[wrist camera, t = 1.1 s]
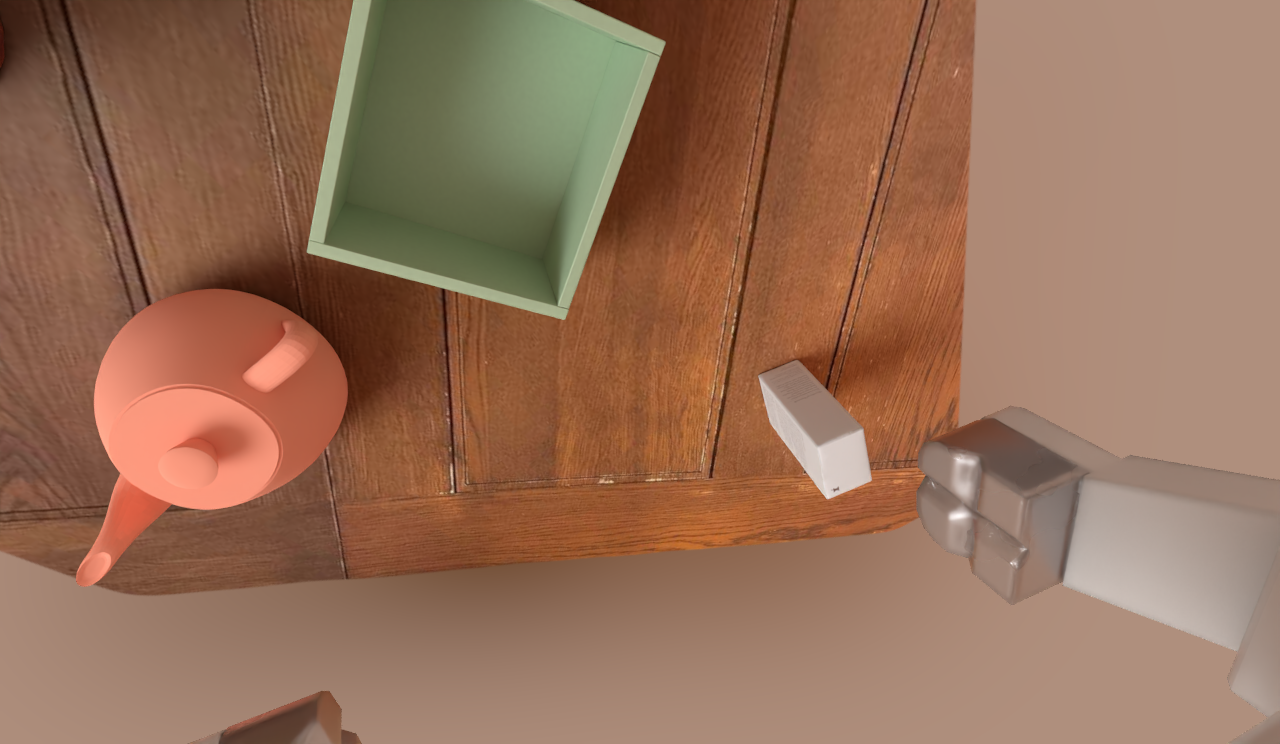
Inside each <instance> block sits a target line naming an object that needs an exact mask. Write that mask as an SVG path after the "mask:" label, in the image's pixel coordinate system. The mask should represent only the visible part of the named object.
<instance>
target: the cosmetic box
mask: <svg viewBox="0 0 1280 744" xmlns="http://www.w3.org/2000/svg"><path fill="white" fill-rule="evenodd" d="M758 377H759V380H760V385H761V389H762V393H763V397H764V401H765V405H766V409H767V412H768V417H769V421H770V424H771V425H772V426H773V428H774V429H775V430H776V432H777V433H778V434H779V436H780V437H781V438H782V440H783V441H784V442H785V444H786V445H787V446H788V448H789V449H790V450H791V452H792V453H793V454H794V456H795V457H796V458H797V460H798V461H799V462H800V464H801V465H802V467H803V468H804V469H805V471H806V472H807V473H808V475H809V476H810V477H811V479H812V480H813V481H814V483H815V484H816V486H817V487H818V488H819V490H820V491H821V492H822V493H823V495H824V496H825V497H826V498H827V499H830V498H832V497H835V496H837V495H839V494H842V493H844V492H847V491H849V490H852V489H854V488H856V487H859V486H861V485H863V484H866V483H868V482H870V481H871V480H872V478H871V471H870V465H869V459H868V454H867V448H866V442H865V436H864V429H863V427H862V426H861V425H860V424H859V423H858V422H857V421H856V420H855V419H854V418H853V417H852V416H851V415H850V414H849V413H848V412H847V411H846V409H845V408H844V407H843V406H842V405H841V404H840V403H839V402H838V401H837V400H836V399H835V398H834V397H833V396H832V395H831V394H830V393H829V391H828V390H827V389H826V388H825V387H824V386H823V385H822V384H821V383H820V382H819V381H818V380H817V379H816V378H815V377H814V376H813V375H812V374H811V373H810V372H809V370H808V369H807V368H806V367H805V366H804V365H803V364H802V363H801V362H800V361H799V360H794V361H792V362H790V363H787V364H785V365H782V366H780V367H777V368H775V369H772V370H770V371H767V372H765V373H762V374H760V375H759V376H758Z"/></svg>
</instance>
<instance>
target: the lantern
mask: <svg viewBox="0 0 1280 744" xmlns="http://www.w3.org/2000/svg"><path fill="white" fill-rule="evenodd" d="M4 58H5V56H4V29H3V26H2V23H1V21H0V70H1V67H2V64H3V61H4Z"/></svg>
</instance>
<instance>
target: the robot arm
mask: <svg viewBox="0 0 1280 744" xmlns="http://www.w3.org/2000/svg"><path fill="white" fill-rule="evenodd" d="M918 468H919V469H920V470H921V471H922V472H923V473H924V474H925V475H926V476H925V478H924V479H923V481H922V483H921V485H920V486H919V488H918V490H917V512H918V514H919V517H920V519H921V521H922V524H923V526H924V528H925V529H926V531H927V532H928V533H929V535H930V536H931V537H932V538H933V540H934V541H935V542H936V543H937V544H939V545H940V546H941V547H942V548H943V549H944V550H946V551H947V552H949V553H953V554H956V555H960V556H963V557H966V558H969V562H970V566H971V570H972V573H973V574H974V575H975V576H977V577H978V578H979V579H980V580H982V581H983V582H984V583H985V584H987V585H988V586H989V587H990V588H991V589H992V590H994V591H995V592H996V593H997V594H999V595H1000V596H1001V597H1002V598H1003V599H1005V600H1006V601H1007V602H1008V603H1009V604H1011V605H1014V604H1016V603H1018V602H1020V601H1022V600H1024V599H1027V598H1029V597H1031V596H1033V595H1035V594H1037V593H1039V592H1042V591H1044V590H1046V589H1048V588H1050V587H1052V586H1054V585H1057V584H1059V583H1061V582H1063V586H1066V587H1068V588H1071V589H1074V590H1076V591H1079V592H1082V593H1084V594H1087V595H1090V596H1092V597H1095V598H1098V599H1100V600H1103V601H1106V602H1108V603H1111V604H1113V605H1116V606H1119V607H1121V608H1124V609H1127V610H1129V611H1132V612H1135V613H1137V614H1140V615H1142V616H1145V617H1148V618H1150V619H1153V620H1156V621H1158V622H1161V623H1163V624H1166V625H1169V626H1171V627H1174V628H1177V629H1179V630H1182V631H1185V632H1188V633H1190V634H1193V635H1195V636H1198V637H1201V638H1203V639H1206V640H1208V641H1211V642H1214V643H1216V644H1219V645H1222V646H1224V647H1227V648H1229V649H1232V650H1235V651H1237V655H1236V657H1235V660H1234V663H1233V665H1232V668H1231V670H1230V673H1229V675H1228V682H1229V686H1230V690H1231V691H1232V692H1234V693H1235V694H1237V695H1238V696H1239V697H1241V698H1242V699H1243V700H1245V701H1246V702H1247V703H1249V704H1250V705H1252V706H1253V707H1254V708H1256V709H1257V710H1258V711H1260V712H1261V713H1262V714H1264V715H1265V716H1267V717H1268V718H1266V719H1265V720H1263V721H1262V722H1260V723H1259V724H1257V725H1255V726H1254V727H1252V728H1251V729H1249V730H1248V731H1246V732H1244V733H1243V734H1241V735H1240V736H1238V737H1237V738H1235V739H1234V740H1232V741H1230V742H1229V743H1227V744H1280V480H1275V479H1269V478H1263V477H1257V476H1251V475H1245V474H1239V473H1233V472H1227V471H1221V470H1215V469H1210V468H1203V467H1198V466H1191V465H1186V464H1179V463H1174V462H1167V461H1161V460H1156V459H1150V458H1143V457H1138V456H1132V455H1130V456H1128V457H1125V458H1123V459H1121V458H1119V457H1117V456H1115V455H1113V454H1111V453H1109V452H1108V451H1106V450H1103V449H1102V448H1100V447H1098V446H1096V445H1094V444H1092V443H1090V442H1088V441H1086V440H1084V439H1082V438H1081V437H1079V436H1077V435H1075V434H1072V433H1071V432H1069V431H1067V430H1065V429H1063V428H1061V427H1059V426H1057V425H1055V424H1053V423H1051V422H1050V421H1048V420H1046V419H1044V418H1042V417H1040V416H1038V415H1036V414H1034V413H1032V412H1030V411H1028V410H1027V409H1024V408H1021V407H1014V406H1009V407H1007V408H1005V409H1002V410H1000V411H997V412H995V413H993V414H991V415H988V416H986V417H984V418H982V419H980V420H977V421H974V422H972V423H969V424H967V425H965V426H962V427H960V428H958V429H955V430H953V431H951V432H948V433H946V434H943V435H941V436H939V437H936V438H934V439H932V440H929V441H927V442H925V443H924V444H923V446H922V447H921V449H920V451H919V455H918ZM341 710H342V709H341V708H340V706H339V705H338V703H337V702H336V700H335V699H334V697H333V696H332V694H331V693H330V692H329V691H321V692H318V693H316V694H313V695H311V696H308V697H305V698H302V699H300V700H297V701H295V702H292V703H290V704H287V705H284V706H282V707H279V708H277V709H274V710H271V711H269V712H266V713H264V714H261V715H258V716H256V717H253V718H251V719H248V720H246V721H243V722H240V723H238V724H235V725H233V726H230V727H228V728H227V729H225V730H222V731H220V732H217V733H215V734H212V735H209V736H207V737H204V738H202V739H199V740H196V741H194V742H191V743H188V744H362V743H361V741H360V740H359V738H358V736H357V734H356V733H352V732H349V731H345V730H342V729H341V712H342V711H341Z"/></svg>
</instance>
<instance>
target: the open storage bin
mask: <svg viewBox="0 0 1280 744" xmlns="http://www.w3.org/2000/svg"><path fill="white" fill-rule="evenodd" d="M665 44H666V42H665V41H664V40H662V39H659V38H657V37H655V36H653V35H651V34H648V33H646V32H644V31H642V30H640V29H637V28H635V27H633V26H631V25H628V24H626V23H624V22H622V21H620V20H617V19H615V18H613V17H611V16H609V15H606V14H604V13H602V12H600V11H598V10H595V9H593V8H591V7H589V6H586V5H584V4H582V3H580V2H578V1H575V0H353V6H352V11H351V17H350V22H349V27H348V33H347V38H346V43H345V49H344V54H343V60H342V65H341V70H340V76H339V81H338V86H337V92H336V97H335V103H334V108H333V113H332V119H331V124H330V129H329V135H328V140H327V146H326V151H325V156H324V162H323V167H322V172H321V178H320V183H319V189H318V194H317V199H316V205H315V210H314V215H313V221H312V226H311V232H310V237H309V242H308V248H307V253H309V254H313V255H317V256H321V257H325V258H329V259H332V260H336V261H340V262H344V263H348V264H352V265H355V266H359V267H363V268H367V269H371V270H375V271H379V272H382V273H386V274H390V275H394V276H398V277H402V278H405V279H409V280H413V281H417V282H421V283H425V284H429V285H432V286H436V287H440V288H444V289H448V290H452V291H455V292H459V293H463V294H467V295H471V296H475V297H479V298H482V299H486V300H490V301H494V302H498V303H502V304H506V305H509V306H513V307H517V308H521V309H525V310H529V311H532V312H536V313H540V314H544V315H548V316H552V317H556V318H559V319H563V320H565V319H566V316H567V313H568V310H569V307H570V304H571V302H572V299H573V296H574V293H575V291H576V288H577V285H578V282H579V280H580V277H581V274H582V271H583V269H584V266H585V263H586V260H587V258H588V255H589V252H590V249H591V247H592V244H593V241H594V238H595V236H596V233H597V230H598V227H599V225H600V222H601V219H602V217H603V214H604V211H605V208H606V206H607V203H608V200H609V197H610V195H611V192H612V189H613V186H614V184H615V181H616V178H617V175H618V173H619V170H620V167H621V164H622V162H623V159H624V156H625V153H626V151H627V148H628V145H629V142H630V140H631V137H632V134H633V131H634V129H635V126H636V123H637V120H638V118H639V115H640V112H641V109H642V107H643V104H644V101H645V98H646V96H647V93H648V90H649V87H650V85H651V82H652V79H653V76H654V74H655V71H656V68H657V65H658V63H659V60H660V56H661V55H662V52H663V49H664V46H665Z"/></svg>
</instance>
